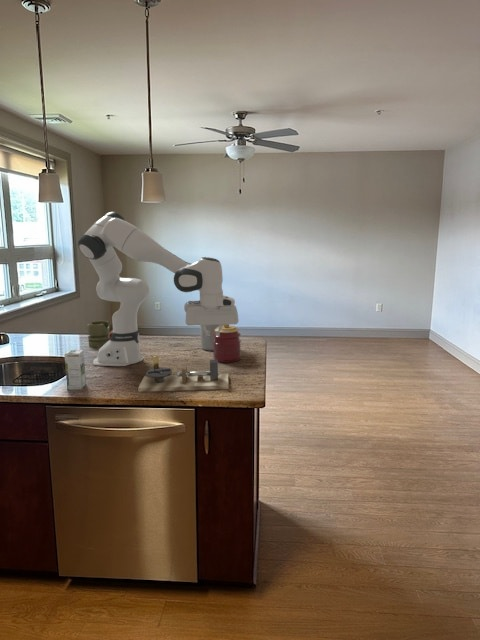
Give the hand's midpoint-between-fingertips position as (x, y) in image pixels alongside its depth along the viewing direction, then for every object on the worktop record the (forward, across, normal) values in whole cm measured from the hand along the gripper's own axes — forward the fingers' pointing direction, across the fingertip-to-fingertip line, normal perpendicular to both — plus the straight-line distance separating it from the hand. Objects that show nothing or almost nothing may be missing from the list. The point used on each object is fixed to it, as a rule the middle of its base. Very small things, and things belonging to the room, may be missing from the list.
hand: (212, 335), depth 165 cm
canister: (+19, +5, +33) cm, 39 cm away
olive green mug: (+19, -64, +68) cm, 95 cm away
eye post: (+18, -11, 0) cm, 21 cm away
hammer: (+17, -6, 0) cm, 18 cm away
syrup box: (+19, -53, 0) cm, 57 cm away
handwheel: (+15, -21, 0) cm, 26 cm away
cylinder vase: (+19, -2, +54) cm, 58 cm away
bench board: (+19, -11, 0) cm, 22 cm away
